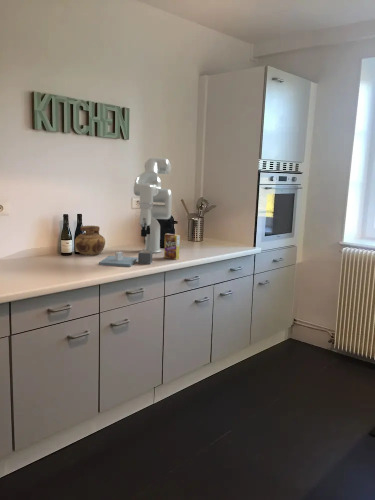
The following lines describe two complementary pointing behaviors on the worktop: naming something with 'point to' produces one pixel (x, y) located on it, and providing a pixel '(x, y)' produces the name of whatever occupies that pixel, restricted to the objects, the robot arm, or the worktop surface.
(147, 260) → the dark grey cube
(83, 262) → the worktop surface
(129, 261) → the base
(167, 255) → the candy box
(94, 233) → the clay pot
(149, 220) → the robot arm
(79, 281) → the worktop surface
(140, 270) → the worktop surface
